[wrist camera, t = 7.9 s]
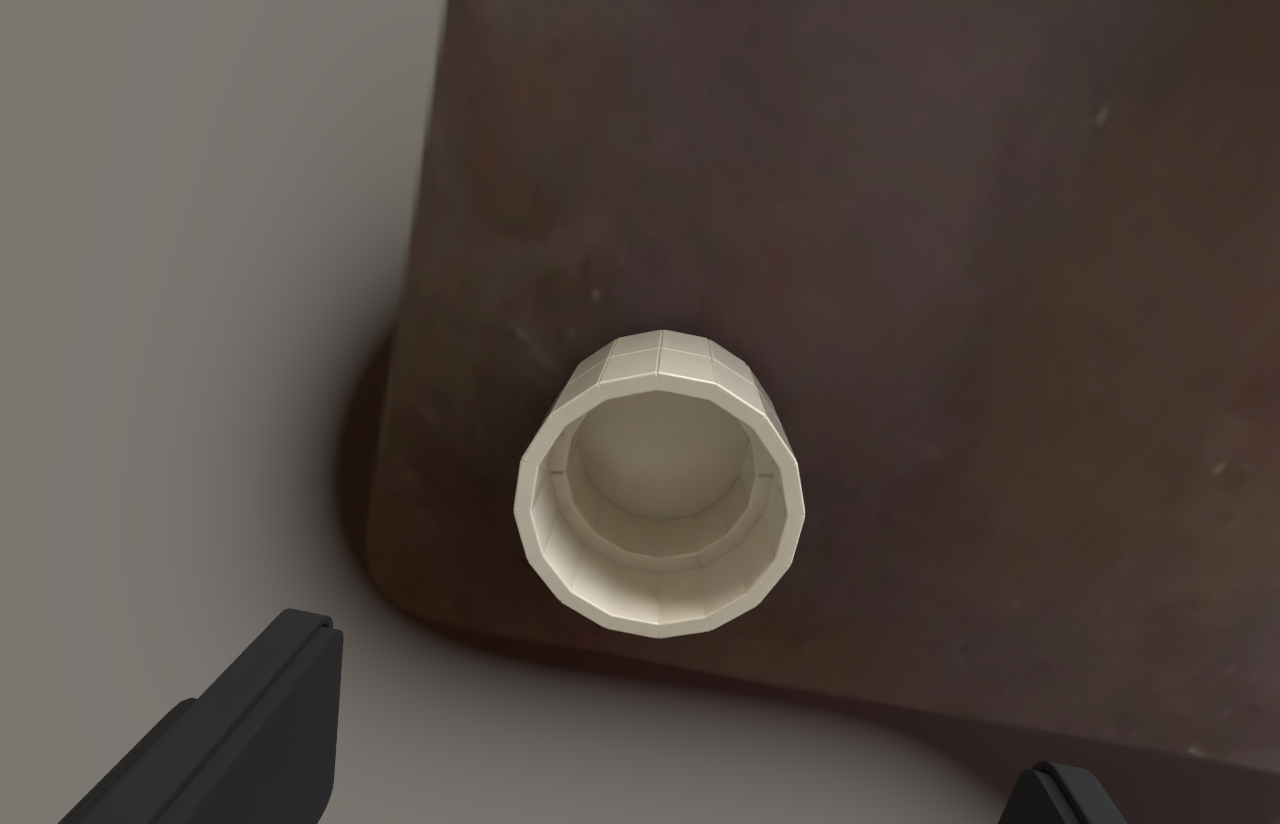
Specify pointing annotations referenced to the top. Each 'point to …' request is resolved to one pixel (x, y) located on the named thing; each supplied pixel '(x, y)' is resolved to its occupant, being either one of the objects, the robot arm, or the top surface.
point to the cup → (660, 488)
